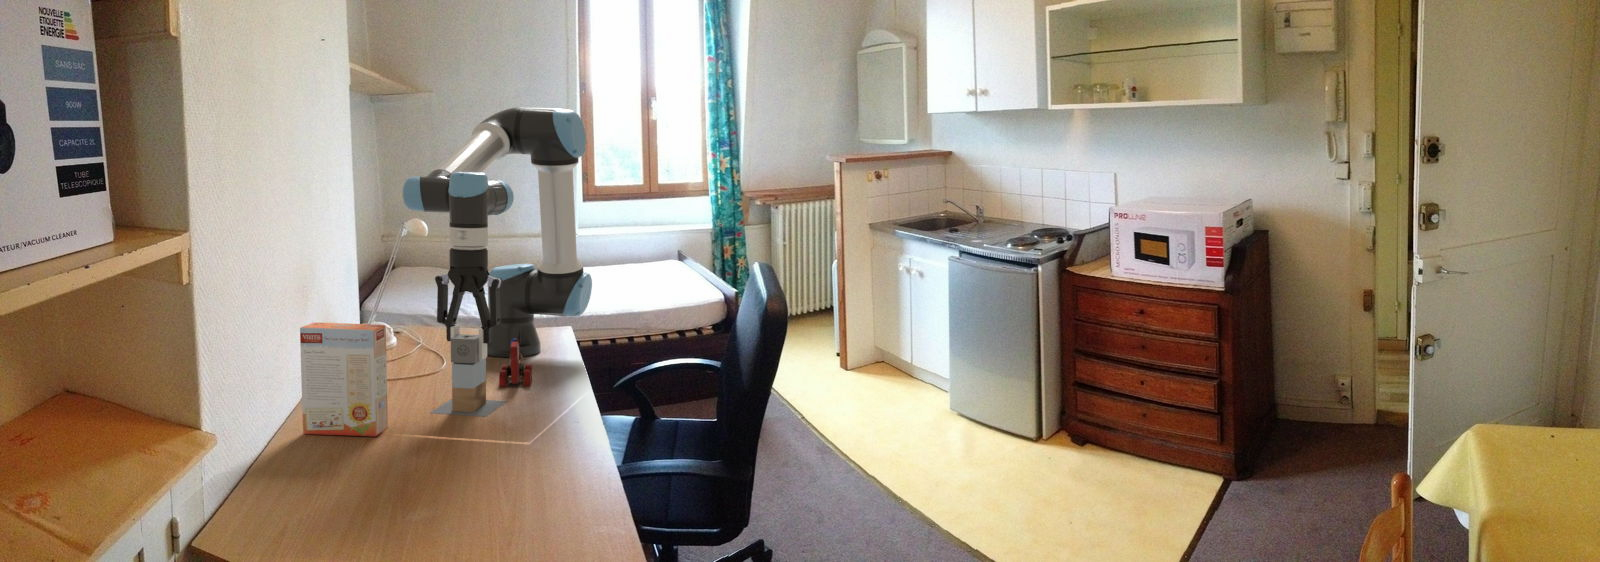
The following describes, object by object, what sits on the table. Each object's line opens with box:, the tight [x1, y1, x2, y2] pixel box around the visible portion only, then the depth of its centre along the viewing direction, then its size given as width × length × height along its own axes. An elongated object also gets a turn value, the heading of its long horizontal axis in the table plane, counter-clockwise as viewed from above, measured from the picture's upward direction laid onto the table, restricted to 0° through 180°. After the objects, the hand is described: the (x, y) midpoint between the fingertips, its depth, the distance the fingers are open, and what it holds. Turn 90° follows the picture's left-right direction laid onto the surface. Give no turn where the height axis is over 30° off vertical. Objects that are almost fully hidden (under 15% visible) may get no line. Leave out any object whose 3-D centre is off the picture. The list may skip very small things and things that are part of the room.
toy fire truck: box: [498, 338, 533, 388], centre depth 228 cm, size 7×12×10 cm, turn 13°
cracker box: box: [299, 322, 389, 438], centre depth 187 cm, size 14×6×21 cm, turn 90°
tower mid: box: [451, 357, 487, 389], centre depth 206 cm, size 7×4×5 cm, turn 176°
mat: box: [429, 398, 508, 418], centre depth 207 cm, size 12×12×1 cm
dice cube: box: [450, 333, 480, 364], centre depth 204 cm, size 5×5×5 cm
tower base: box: [451, 380, 487, 412], centre depth 207 cm, size 7×4×5 cm, turn 176°
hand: (469, 357), depth 205 cm, fingers closed on dice cube, 5 cm apart
